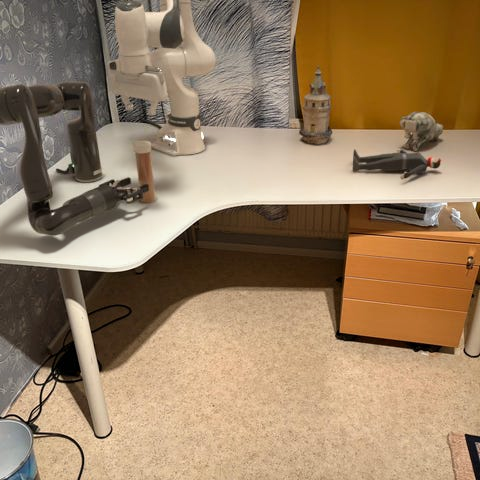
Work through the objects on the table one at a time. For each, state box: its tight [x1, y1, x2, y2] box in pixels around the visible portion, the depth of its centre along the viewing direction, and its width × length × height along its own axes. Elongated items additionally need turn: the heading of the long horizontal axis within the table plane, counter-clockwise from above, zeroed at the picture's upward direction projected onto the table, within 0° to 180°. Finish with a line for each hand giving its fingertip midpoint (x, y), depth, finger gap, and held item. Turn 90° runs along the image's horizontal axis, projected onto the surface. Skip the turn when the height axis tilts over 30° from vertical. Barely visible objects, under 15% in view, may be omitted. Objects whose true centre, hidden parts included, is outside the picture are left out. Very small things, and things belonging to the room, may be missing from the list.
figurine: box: [399, 111, 444, 152], centre depth 210 cm, size 10×19×20 cm
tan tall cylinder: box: [134, 151, 156, 204], centre depth 168 cm, size 5×5×18 cm
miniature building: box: [298, 65, 333, 145], centre depth 213 cm, size 13×14×30 cm
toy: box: [352, 148, 442, 180], centre depth 190 cm, size 26×6×30 cm
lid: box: [132, 140, 152, 154], centre depth 164 cm, size 5×5×2 cm
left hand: (139, 183), depth 167 cm, fingers open, 8 cm apart
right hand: (140, 112), depth 159 cm, fingers open, 8 cm apart
